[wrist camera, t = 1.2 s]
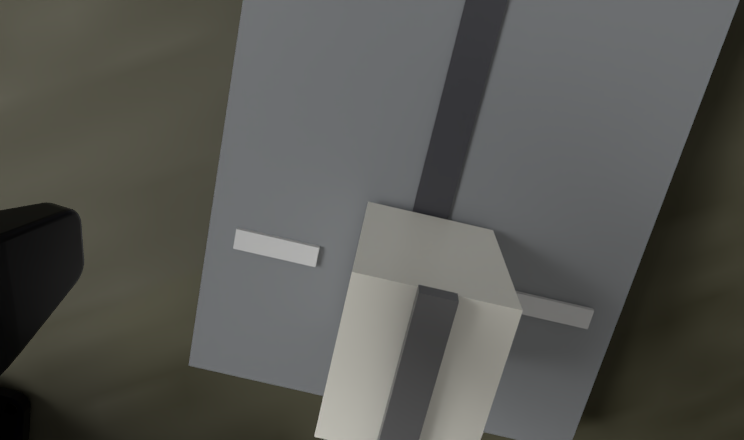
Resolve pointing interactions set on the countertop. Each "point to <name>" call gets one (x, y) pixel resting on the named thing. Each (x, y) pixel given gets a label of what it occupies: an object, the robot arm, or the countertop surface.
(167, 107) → the countertop surface
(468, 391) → the fader cap
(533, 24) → the slider track base
